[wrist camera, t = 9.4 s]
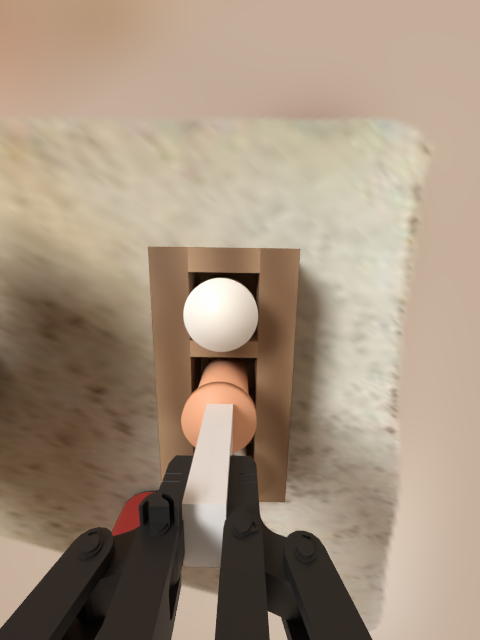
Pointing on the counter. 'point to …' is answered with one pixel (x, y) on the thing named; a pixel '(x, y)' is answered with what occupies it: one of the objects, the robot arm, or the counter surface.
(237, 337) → the plunger white
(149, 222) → the counter surface
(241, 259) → the button block
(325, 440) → the counter surface
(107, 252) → the counter surface
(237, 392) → the peach round knob
